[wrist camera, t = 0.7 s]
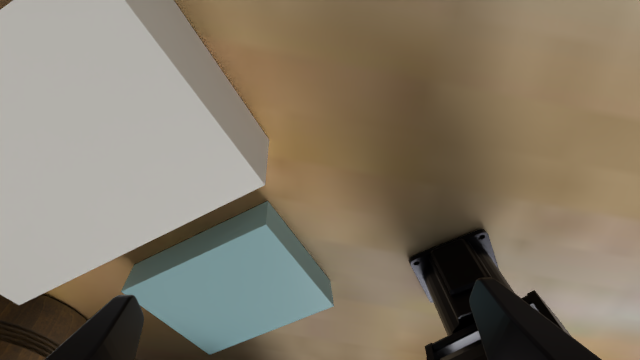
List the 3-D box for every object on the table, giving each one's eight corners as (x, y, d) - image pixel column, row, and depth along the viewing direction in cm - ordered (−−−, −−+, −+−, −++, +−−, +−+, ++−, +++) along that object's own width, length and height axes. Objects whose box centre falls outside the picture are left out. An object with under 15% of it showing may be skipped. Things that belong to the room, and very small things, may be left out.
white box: (269, 139, 21) (264, 184, 17) (64, 245, 24) (19, 305, 20) (139, -51, 15) (84, -53, 11) (-106, 122, 19) (-219, 170, 14)
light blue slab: (330, 280, 29) (333, 306, 27) (214, 328, 31) (209, 354, 29) (267, 200, 24) (266, 224, 22) (134, 264, 26) (121, 291, 24)
